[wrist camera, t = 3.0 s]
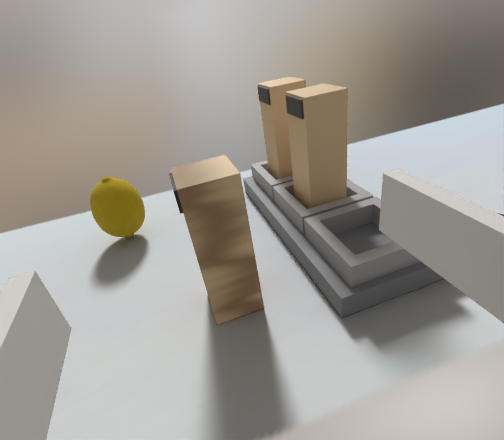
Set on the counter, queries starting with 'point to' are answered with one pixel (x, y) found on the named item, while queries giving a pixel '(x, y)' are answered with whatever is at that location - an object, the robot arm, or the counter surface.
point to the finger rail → (326, 200)
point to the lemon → (117, 207)
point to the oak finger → (220, 234)
